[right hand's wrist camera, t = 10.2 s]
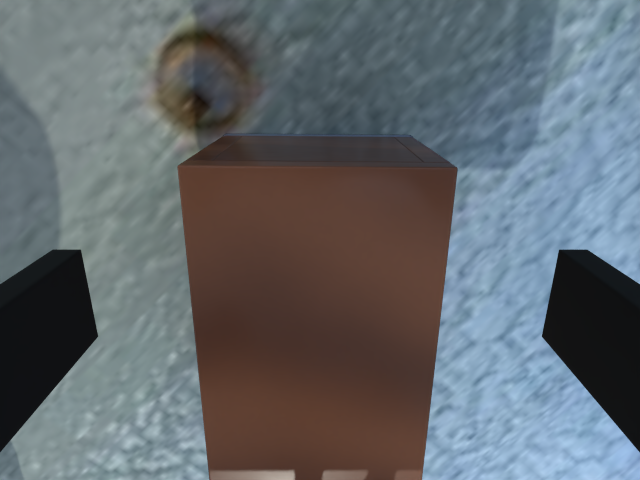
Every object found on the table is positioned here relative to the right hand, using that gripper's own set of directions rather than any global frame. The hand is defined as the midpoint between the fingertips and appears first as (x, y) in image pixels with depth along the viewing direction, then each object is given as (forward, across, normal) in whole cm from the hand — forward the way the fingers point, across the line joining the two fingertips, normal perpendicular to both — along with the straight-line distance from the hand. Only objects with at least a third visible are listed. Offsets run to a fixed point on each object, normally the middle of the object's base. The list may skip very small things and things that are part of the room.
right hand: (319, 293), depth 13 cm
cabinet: (+16, 0, -6) cm, 17 cm away
